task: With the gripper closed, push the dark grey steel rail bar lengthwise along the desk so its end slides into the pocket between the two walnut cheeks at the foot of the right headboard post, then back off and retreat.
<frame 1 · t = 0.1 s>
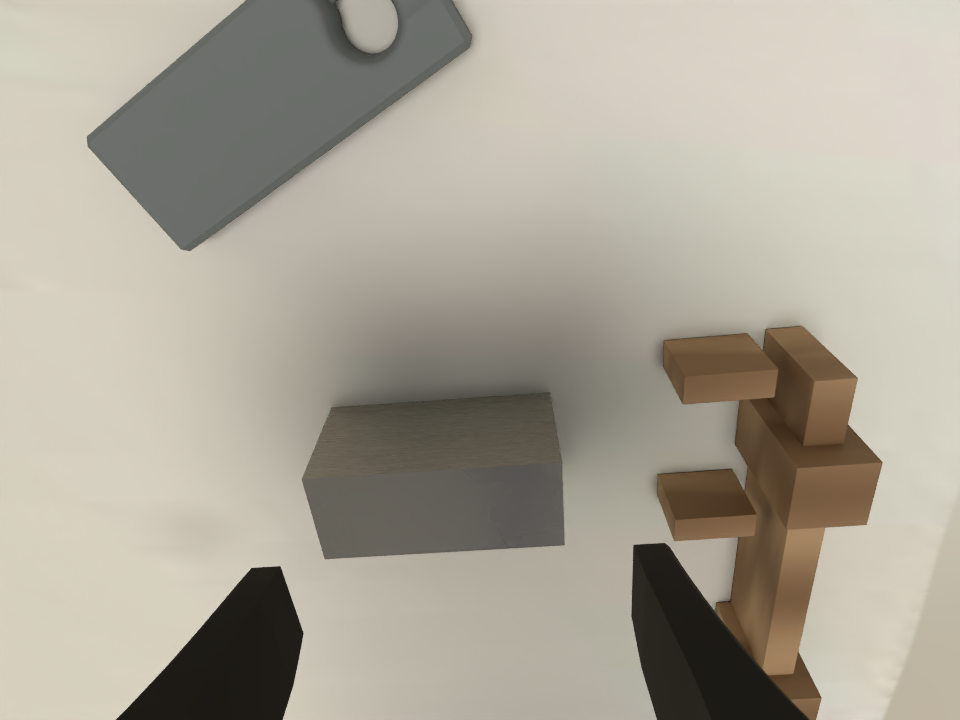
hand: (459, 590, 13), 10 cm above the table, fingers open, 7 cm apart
rail: (445, 436, 23), on the table
bracket: (292, 87, 18), on the table
headboard: (755, 527, 25), on the table
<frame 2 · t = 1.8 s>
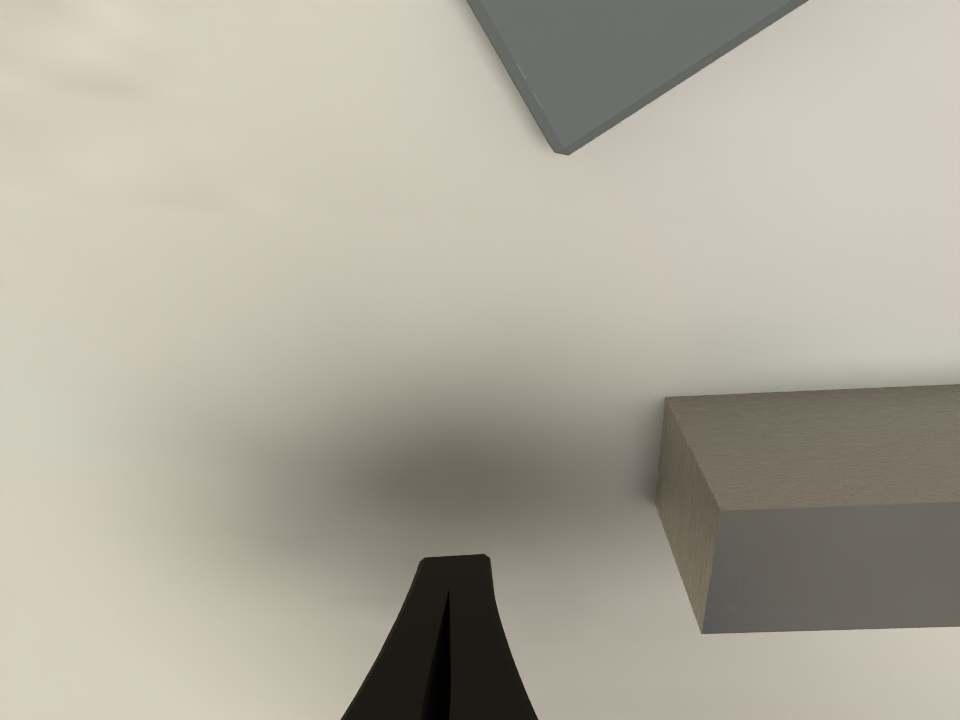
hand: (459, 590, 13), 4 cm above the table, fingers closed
rail: (816, 443, 16), on the table
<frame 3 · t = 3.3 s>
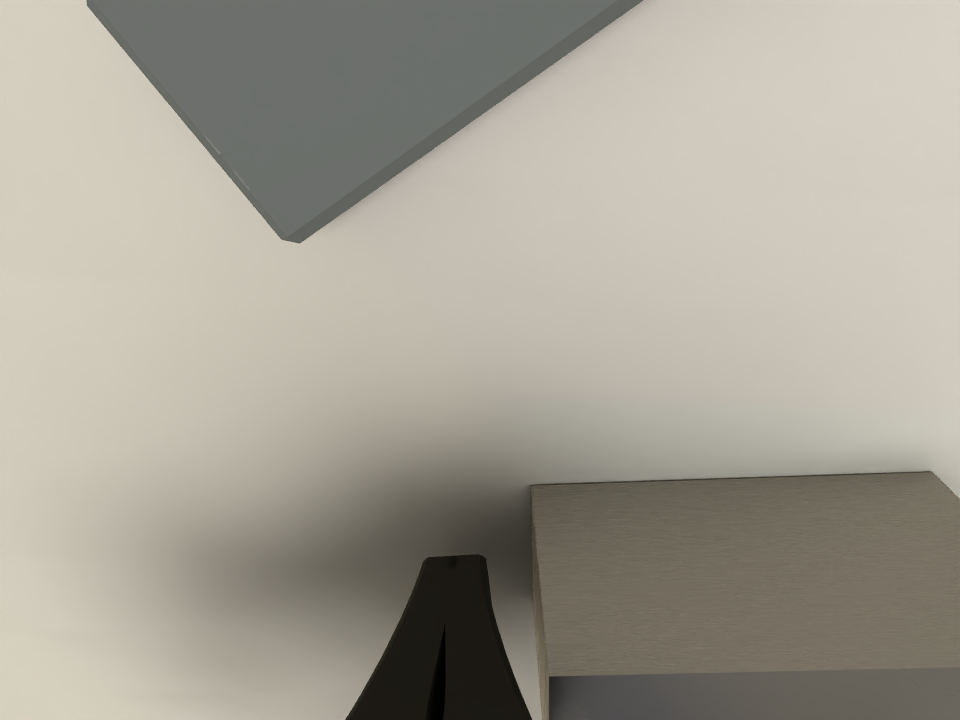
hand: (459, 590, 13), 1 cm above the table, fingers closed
rail: (718, 541, 13), on the table, touching gripper
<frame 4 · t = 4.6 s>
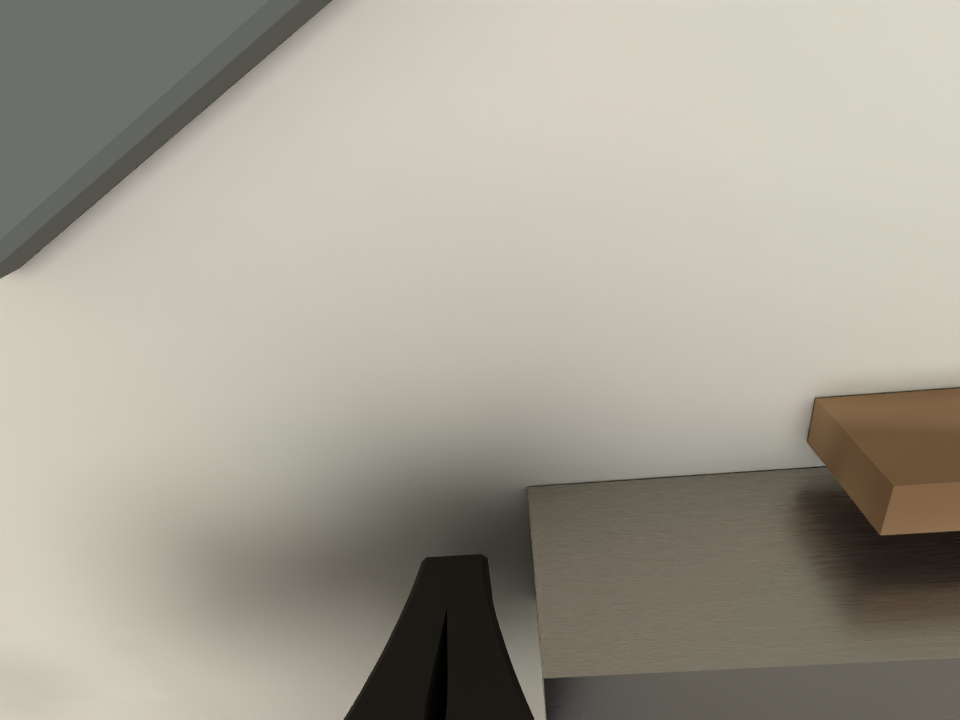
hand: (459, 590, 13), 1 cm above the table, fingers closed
rail: (719, 536, 13), on the table, touching gripper
headboard: (922, 687, 15), on the table
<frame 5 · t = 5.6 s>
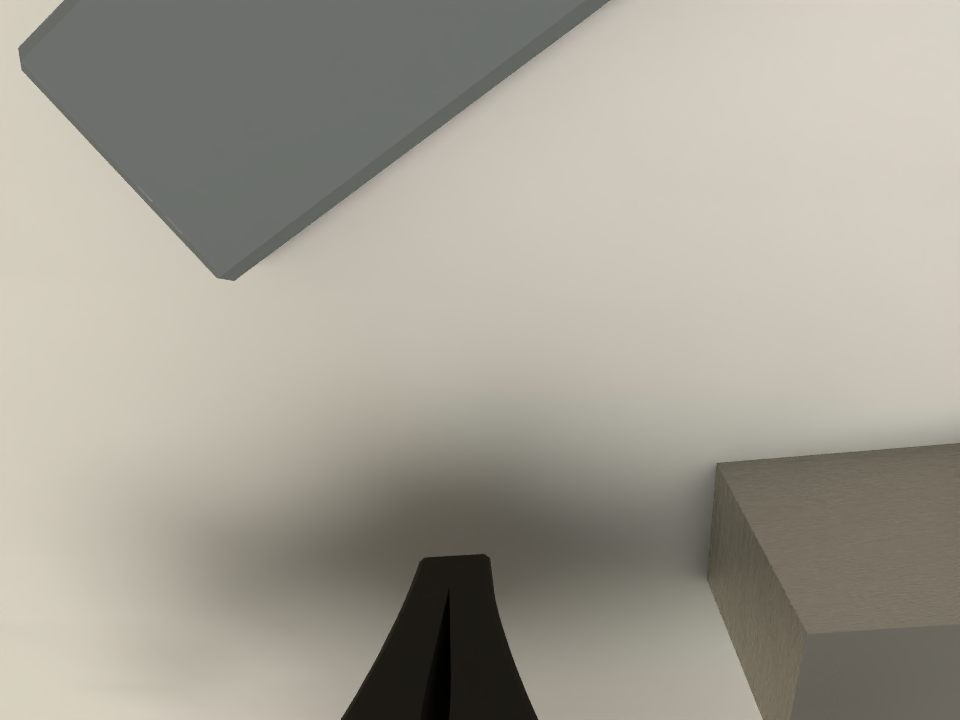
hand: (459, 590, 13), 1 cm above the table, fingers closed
rail: (896, 505, 13), on the table
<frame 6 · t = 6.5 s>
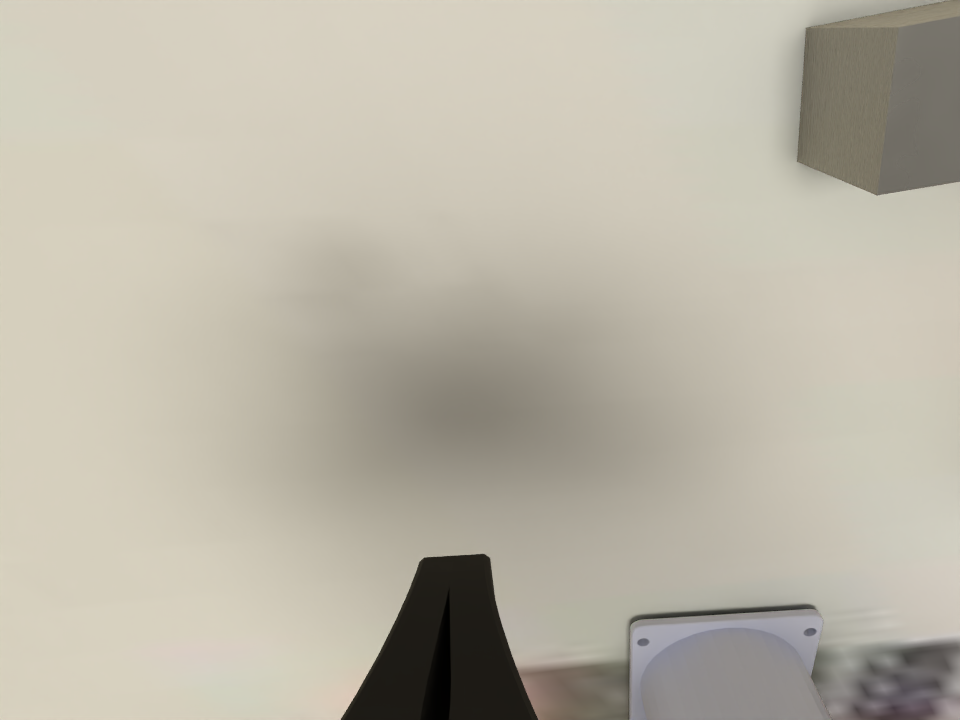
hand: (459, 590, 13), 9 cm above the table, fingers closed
rail: (952, 69, 16), on the table
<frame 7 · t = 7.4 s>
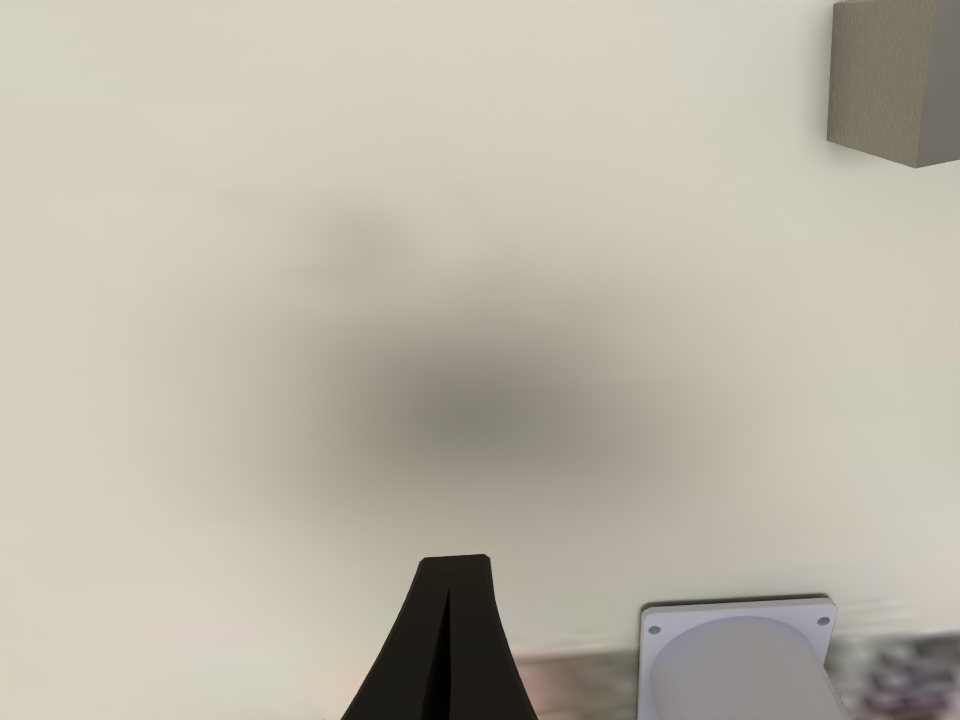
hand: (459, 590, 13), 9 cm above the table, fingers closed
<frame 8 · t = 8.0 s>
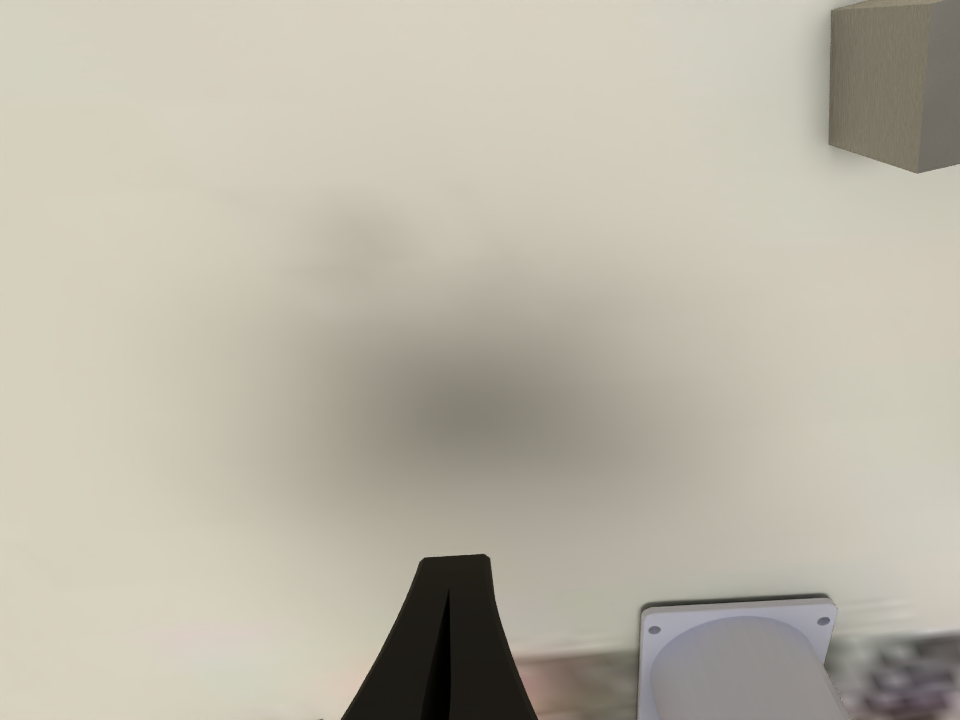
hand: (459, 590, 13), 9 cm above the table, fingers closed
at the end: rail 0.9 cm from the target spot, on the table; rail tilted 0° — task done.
